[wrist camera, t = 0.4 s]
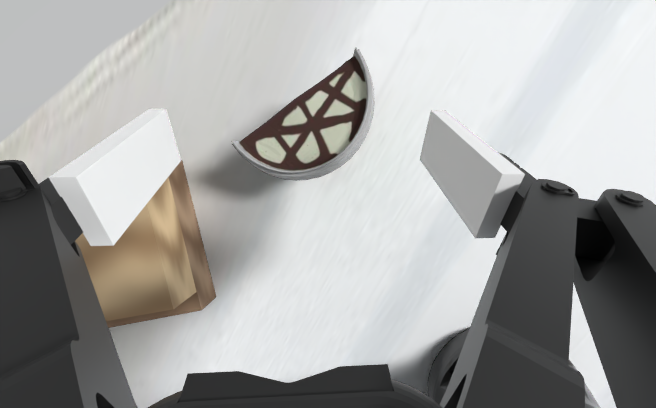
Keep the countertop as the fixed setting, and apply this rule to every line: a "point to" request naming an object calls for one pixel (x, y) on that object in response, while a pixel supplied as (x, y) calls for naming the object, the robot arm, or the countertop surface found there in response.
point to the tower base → (193, 250)
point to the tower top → (142, 263)
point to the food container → (315, 126)
